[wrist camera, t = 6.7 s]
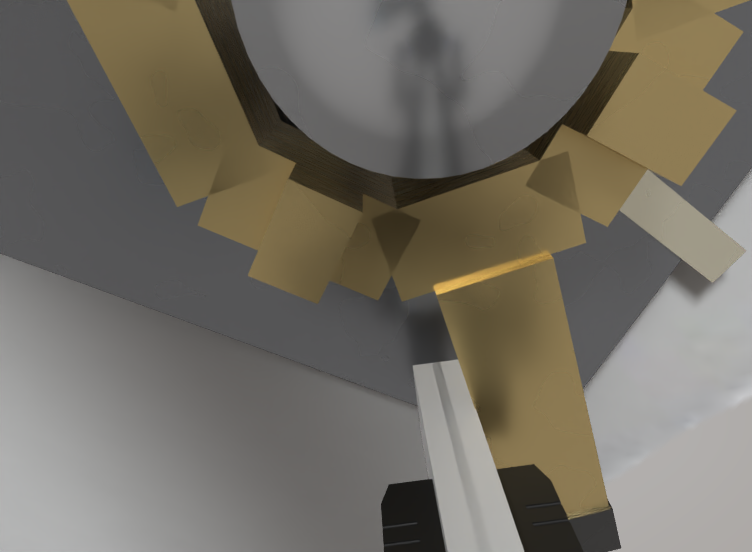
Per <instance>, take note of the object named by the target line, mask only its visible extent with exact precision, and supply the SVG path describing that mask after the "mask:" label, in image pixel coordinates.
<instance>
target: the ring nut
mask: <svg viewBox="0 0 752 552" xmlns="http://www.w3.org/2000/svg"><path fill="white" fill-rule="evenodd" d="M747 1H749V0H627V3H626V6H625V10H624V14H623V17H622V20H621V23H620V25H619V28H618V30H617V33H616V35H615V38H614V40H613V43H612V46H611V48H610V49H609V51H608V53H607V55H606V57H605V59H604V61H603V63H602V65H601V67H600V68H599V70H598V72H597V73H596V75H595V76H594V78H593V79H592V81H591V82H590V84H589V85H588V87H587V88H586V90H585V91H584V93H583V94H582V95H581V97H580V98H579V99H578V100H577V101H576V102H575V104H574V105H573V106H572V107H571V108H570V110H569V111H568V112H567V113H566V114H565V115H564V116H563V117H562V118H561V119H560V120H559V121H558V122H557V123H556V124H555V125H554V126H552V127H551V128H550V129H549V130H548V131H547V132H546V133H545V134H543V135H542V136H541V137H539V138H538V139H537V140H535V141H534V142H533V143H531V144H530V145H529V146H527V147H526V148H524V149H522V150H520V151H519V152H517V153H515V154H513V155H512V156H510V157H508V158H506V159H504V160H502V161H500V162H497V163H495V164H493V165H490V166H488V167H486V168H483V169H480V170H476V171H473V172H469V173H466V174H462V175H456V176H450V177H444V178H428V179H413V178H403V177H394V176H389V175H385V174H381V173H377V172H373V171H370V170H367V169H364V168H362V167H359V166H356V165H354V164H351V163H349V162H347V161H345V160H343V159H341V158H340V157H338V156H336V155H334V154H332V153H330V152H329V151H327V150H326V149H324V148H323V147H321V146H320V145H319V144H317V143H316V142H314V141H313V140H312V139H310V138H309V137H308V136H307V135H306V134H305V133H304V132H302V131H301V130H299V129H297V128H295V127H293V126H291V125H288V124H286V123H284V122H282V121H281V119H280V117H279V115H278V112H277V110H276V107H275V105H274V103H273V100H272V98H271V95H270V94H269V92H268V91H267V89H266V88H265V86H264V85H263V83H262V82H261V80H260V78H259V76H258V74H257V72H256V70H255V68H254V66H253V64H252V63H251V61H250V59H249V57H248V54H247V52H246V49H245V46H244V43H243V41H242V38H241V35H240V33H239V30H238V27H237V22H236V18H235V14H234V10H233V6H232V2H231V0H67V2H68V4H69V5H70V7H71V9H72V11H73V13H74V15H75V17H76V19H77V20H78V22H79V24H80V26H81V28H82V30H83V32H84V34H85V35H86V37H87V39H88V41H89V43H90V45H91V47H92V49H93V50H94V52H95V54H96V56H97V58H98V60H99V62H100V64H101V65H102V67H103V69H104V71H105V73H106V75H107V77H108V79H109V80H110V82H111V84H112V86H113V88H114V90H115V92H116V94H117V95H118V97H119V99H120V101H121V103H122V105H123V107H124V108H125V110H126V112H127V114H128V116H129V118H130V120H131V122H132V123H133V125H134V127H135V129H136V131H137V133H138V135H139V137H140V138H141V140H142V142H143V144H144V146H145V148H146V150H147V152H148V153H149V155H150V157H151V159H152V161H153V163H154V165H155V167H156V168H157V170H158V172H159V174H160V176H161V178H162V180H163V182H164V183H165V185H166V187H167V189H168V191H169V193H170V195H171V197H172V198H173V200H174V202H175V204H176V206H177V207H179V206H182V205H184V204H187V203H190V202H193V201H195V200H198V199H201V198H204V197H207V196H208V198H207V200H206V203H205V206H204V209H203V212H202V214H201V217H200V220H199V223H198V226H200V227H203V228H205V229H207V230H210V231H212V232H215V233H217V234H219V235H222V236H224V237H227V238H229V239H231V240H234V241H236V242H239V243H241V244H243V245H246V246H248V247H251V248H253V249H255V250H258V252H257V254H256V257H255V259H254V262H253V264H252V266H251V269H250V271H249V273H248V276H249V277H252V278H254V279H257V280H259V281H262V282H264V283H267V284H269V285H272V286H274V287H276V288H279V289H281V290H284V291H286V292H289V293H291V294H294V295H296V296H299V297H301V298H304V299H306V300H309V301H311V302H314V303H316V304H318V303H319V301H320V299H321V297H322V295H323V293H324V291H325V289H326V287H327V285H328V283H329V281H332V282H335V283H337V284H339V285H342V286H344V287H347V288H349V289H351V290H354V291H356V292H359V293H361V294H363V295H366V296H368V297H371V298H373V299H375V300H379V298H380V296H381V294H382V292H383V291H384V289H385V287H386V285H387V283H388V281H389V280H390V278H391V276H392V277H393V279H394V282H395V285H396V287H397V290H398V293H399V295H400V298H401V301H406V300H409V299H412V298H415V297H418V296H421V295H424V294H427V293H431V292H434V291H435V292H436V296H437V299H438V301H439V304H440V307H441V310H442V313H443V316H444V319H445V322H446V325H447V328H448V331H449V334H450V337H451V340H452V343H453V346H454V349H455V352H456V355H457V358H458V361H459V364H460V366H461V369H462V372H463V375H464V378H465V381H466V384H467V387H468V390H469V393H470V396H471V399H472V402H473V405H474V408H475V409H476V411H477V414H478V417H479V420H480V422H481V425H482V428H483V431H484V434H485V437H486V440H487V443H488V446H489V449H490V452H491V455H492V458H493V461H494V464H495V467H496V469H501V468H508V467H516V466H523V465H531V464H534V465H536V466H537V467H538V468H539V469H540V470H541V471H542V472H543V473H544V474H545V475H546V476H547V477H548V478H549V479H550V480H551V481H552V483H553V486H554V488H555V490H556V492H557V494H558V497H559V499H560V501H561V505H563V508H564V510H565V512H566V514H567V516H568V520H569V522H570V523H571V525H572V527H573V530H574V532H575V534H576V536H577V538H578V541H579V543H580V545H581V547H582V549H583V552H608V551H612V550H616V549H620V548H621V545H620V541H619V536H618V532H617V527H616V522H615V518H614V513H613V509H612V507H611V505H610V503H609V501H608V499H607V495H606V491H605V486H604V482H603V477H602V473H601V468H600V464H599V459H598V455H597V450H596V446H595V441H594V437H593V433H592V428H591V424H590V419H589V415H588V410H587V406H586V401H585V397H584V392H583V388H582V383H581V379H580V374H579V370H578V365H577V361H576V356H575V352H574V348H573V343H572V339H571V334H570V330H569V325H568V321H567V316H566V312H565V307H564V303H563V298H562V294H561V289H560V285H559V280H558V276H557V271H556V267H555V263H554V258H553V257H552V256H551V254H553V253H556V252H559V251H562V250H565V249H568V248H572V247H575V246H578V245H581V244H584V243H586V240H585V235H584V229H583V224H582V219H581V214H582V215H584V216H586V217H588V218H590V219H592V220H595V221H597V222H599V223H601V224H603V225H605V226H607V227H608V226H609V224H610V223H611V221H612V220H613V218H614V217H615V215H616V214H617V213H618V211H619V210H620V208H621V207H622V205H623V204H624V203H625V201H626V200H627V198H628V197H629V195H630V194H631V193H632V191H633V190H634V188H635V187H636V185H637V184H638V182H639V181H640V180H641V178H642V177H643V175H644V174H645V172H646V171H647V170H649V171H651V172H653V173H655V174H657V175H659V176H661V177H664V178H666V179H668V180H670V181H672V182H674V183H676V184H678V185H680V186H682V185H683V183H684V182H685V180H686V179H687V178H688V176H689V175H690V174H691V172H692V171H693V170H694V168H695V167H696V165H697V164H698V163H699V161H700V160H701V159H702V157H703V156H704V155H705V153H706V152H707V150H708V149H709V148H710V146H711V145H712V144H713V142H714V141H715V140H716V138H717V137H718V135H719V134H720V133H721V131H722V130H723V129H724V127H725V126H726V125H727V123H728V122H729V120H730V119H731V118H732V116H733V115H734V114H735V112H736V111H737V110H735V109H733V108H732V107H730V106H728V105H727V104H725V103H723V102H721V101H720V100H718V99H716V98H715V97H713V96H711V95H710V94H708V93H706V92H704V91H703V89H704V88H705V86H706V85H707V84H708V82H709V81H710V79H711V78H712V76H713V75H714V73H715V72H716V71H717V69H718V68H719V66H720V65H721V63H722V62H723V61H724V59H725V58H726V56H727V55H728V53H729V52H730V51H731V49H732V48H733V46H734V45H735V43H736V42H737V40H738V39H739V38H740V36H741V35H742V33H743V31H742V30H740V29H739V28H737V27H735V26H734V25H732V24H731V23H729V22H727V21H726V20H724V19H723V18H721V17H719V16H718V15H716V14H715V13H716V12H719V11H722V10H724V9H727V8H730V7H733V6H735V5H738V4H741V3H744V2H747Z"/></svg>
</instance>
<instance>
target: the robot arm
mask: <svg viewBox="0 0 752 552" xmlns="http://www.w3.org/2000/svg"><path fill="white" fill-rule="evenodd" d="M413 372H414V381H415V389H416V397H417V405H418V413H419V421H420V429H421V437H422V444H423V450H424V456H425V461H426V467H427V473H428V479H427V480H420V481H412V482H405V483H397V484H390V485H389V486H388V488H387V491H386V493H385V496H384V498H383V501H382V503H381V511H382V526H383V541H384V552H583V549H582V547H581V545H580V543H579V541H578V538H577V536H576V534H575V532H574V530H573V527H572V525H571V523H570V522H569V520H568V516H567V514H566V512H565V510H564V508H563V505H561V501H560V499H559V497H558V494H557V492H556V490H555V488H554V486H553V483H552V481H551V480H550V479H549V478H548V477H547V476H546V475H545V474H544V473H543V472H542V471H541V470H540V469H539V468H538V467H537V466H536V465H534V464H531V465H523V466H516V467H508V468H501V469H496V467H495V464H494V461H493V458H492V455H491V452H490V449H489V446H488V443H487V440H486V437H485V434H484V431H483V428H482V425H481V422H480V420H479V417H478V414H477V411H476V409H475V408H474V405H473V402H472V399H471V396H470V393H469V390H468V387H467V384H466V381H465V378H464V375H463V372H462V369H461V366H460V364H459V361H458V360H450V361H443V362H435V363H427V364H420V365H413Z"/></svg>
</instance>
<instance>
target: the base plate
mask: <svg viewBox="0 0 752 552" xmlns="http://www.w3.org/2000/svg"><path fill="white" fill-rule="evenodd" d="M231 2H232V6H233V10H234V14H235V18H236V22H237V27H238V30H239V33H240V35H241V38H242V41H243V43H244V46H245V49H246V52H247V54H248V57H249V59H250V61H251V63H252V64H253V66H254V68H255V70H256V72H257V74H258V76H259V78H260V80H261V82H262V83H263V85H264V86H265V88H266V89H267V91H268V92H269V94H270V95H271V98H272V100H273V103H274V105H275V107H276V110H277V112H278V115H279V117H280V119H281V121H282V122H284V123H286V124H288V125H291V126H293V127H295V128H297V129H299V130H301V131H302V132H304V133H305V134H306V135H307V136H308V137H309V138H310V139H312V140H313V141H314V142H316V143H317V144H319V145H320V146H321V147H323V148H324V149H326V150H327V151H329V152H330V153H332V154H334V155H336V156H338V157H340V158H341V159H343V160H345V161H347V162H349V163H351V164H354V165H356V166H359V167H362V168H364V169H367V170H370V171H373V172H377V173H381V174H385V175H389V176H394V177H403V178H413V179H428V178H444V177H450V176H456V175H462V174H466V173H469V172H473V171H476V170H480V169H483V168H486V167H488V166H490V165H493V164H495V163H497V162H500V161H502V160H504V159H506V158H508V157H510V156H512V155H513V154H515V153H517V152H519V151H520V150H522V149H524V148H526V147H527V146H529V145H530V144H531V143H533V142H534V141H535V140H537V139H538V138H539V137H541V136H542V135H543V134H545V133H546V132H547V131H548V130H549V129H550V128H551V127H552V126H554V125H555V124H556V123H557V122H558V121H559V120H560V119H561V118H562V117H563V116H564V115H565V114H566V113H567V112H568V111H569V110H570V108H571V107H572V106H573V105H574V104H575V102H576V101H577V100H578V99H579V98H580V97H581V95H582V94H583V93H584V91H585V90H586V88H587V87H588V85H589V84H590V82H591V81H592V79H593V78H594V76H595V75H596V73H597V72H598V70H599V68H600V67H601V65H602V63H603V61H604V59H605V57H606V55H607V53H608V51H609V49H610V48H611V46H612V43H613V40H614V38H615V35H616V33H617V30H618V28H619V25H620V23H621V20H622V17H623V14H624V10H625V6H626V3H627V0H231ZM715 14H716V15H718V16H719V17H721V18H723V19H724V20H726V21H727V22H729V23H731V24H732V25H734V26H735V27H737V28H739V29H740V30H742V31H743V33H742V35H741V36H740V38H739V39H738V40H737V42H736V43H735V45H734V46H733V48H732V49H731V51H730V52H729V53H728V55H727V56H726V58H725V59H724V61H723V62H722V63H721V65H720V66H719V68H718V69H717V71H716V72H715V73H714V75H713V76H712V78H711V79H710V81H709V82H708V84H707V85H706V86H705V88H704V89H703V91H704V92H706V93H708V94H710V95H711V96H713V97H715V98H716V99H718V100H720V101H721V102H723V103H725V104H727V105H728V106H730V107H732V108H733V109H735V110H737V111H736V112H735V114H734V115H733V116H732V118H731V119H730V120H729V122H728V123H727V125H726V126H725V127H724V129H723V130H722V131H721V133H720V134H719V135H718V137H717V138H716V140H715V141H714V142H713V144H712V145H711V146H710V148H709V149H708V150H707V152H706V153H705V155H704V156H703V157H702V159H701V160H700V161H699V163H698V164H697V165H696V167H695V168H694V170H693V171H692V172H691V174H690V175H689V176H688V178H687V179H686V180H685V182H684V183H683V185H682V186H680V185H678V184H676V183H674V182H672V181H670V180H668V179H666V178H664V177H661V176H659V175H657V174H655V173H653V172H651V171H649V170H647V171H646V172H645V174H644V175H643V177H642V178H641V180H640V181H639V182H638V184H637V185H636V187H635V188H634V190H633V191H632V193H631V194H630V195H629V197H628V198H627V200H626V201H625V203H624V204H623V205H622V207H621V208H620V210H619V211H618V213H617V214H616V215H615V217H614V218H613V220H612V221H611V223H610V224H609V226H608V227H607V226H605V225H603V224H601V223H599V222H597V221H595V220H592V219H590V218H588V217H586V216H584V215H582V214H581V219H582V224H583V229H584V235H585V240H586V243H584V244H581V245H578V246H575V247H572V248H568V249H565V250H562V251H559V252H556V253H553V254H551V256H552V257H553V258H554V263H555V267H556V271H557V276H558V280H559V285H560V289H561V294H562V298H563V303H564V307H565V312H566V316H567V321H568V325H569V330H570V334H571V339H572V343H573V348H574V352H575V356H576V361H577V365H578V370H579V374H580V379H581V383H582V388H584V386H585V385H586V384H587V383H588V381H589V380H590V379H591V377H592V376H593V375H594V373H595V372H596V371H597V369H598V368H599V367H600V366H601V364H602V363H603V362H604V360H605V359H606V358H607V356H608V355H609V354H610V352H611V351H612V350H613V349H614V347H615V346H616V345H617V343H618V342H619V341H620V339H621V338H622V337H623V335H624V334H625V333H626V331H627V330H628V329H629V328H630V326H631V325H632V324H633V322H634V321H635V320H636V318H637V317H638V316H639V314H640V313H641V312H642V311H643V309H644V308H645V307H646V305H647V304H648V303H649V301H650V300H651V299H652V297H653V296H654V295H655V293H656V292H657V291H658V290H659V288H660V287H661V286H662V284H663V283H664V282H665V280H666V279H667V278H668V276H669V275H670V274H671V273H672V271H673V270H674V269H675V267H676V266H677V265H678V263H679V262H680V261H681V259H682V260H684V261H685V262H686V263H687V264H689V265H690V266H691V267H693V268H694V269H695V270H696V271H698V272H699V273H700V274H702V275H703V276H704V277H705V278H707V279H708V280H709V281H711V282H712V283H713V282H714V281H715V280H716V279H717V278H719V277H720V276H721V275H722V274H723V273H724V272H725V271H726V270H727V269H728V268H729V267H730V266H731V265H732V264H733V263H734V262H735V261H736V260H738V259H739V258H740V257H741V256H742V255H743V254H744V253H745V252H746V250H745V249H744V248H743V247H741V246H740V245H739V244H738V243H736V242H735V241H734V240H733V239H732V238H730V237H729V236H728V235H727V234H726V233H724V232H723V231H722V230H721V229H719V228H718V227H717V226H716V225H715V224H713V223H712V222H711V220H712V219H713V217H714V216H715V215H716V214H717V212H718V211H719V210H720V208H721V207H722V206H723V204H724V203H725V202H726V200H727V199H728V198H729V197H730V195H731V194H732V193H733V191H734V190H735V189H736V187H737V186H738V185H739V183H740V182H741V181H742V179H743V178H744V177H745V176H746V174H747V173H748V172H749V170H750V169H751V168H752V0H749V1H747V2H744V3H741V4H738V5H735V6H733V7H730V8H727V9H724V10H722V11H719V12H716V13H715ZM207 198H208V196H207V197H204V198H201V199H198V200H195V201H193V202H190V203H187V204H184V205H182V206H179V207H177V206H176V204H175V202H174V200H173V198H172V197H171V195H170V193H169V191H168V189H167V187H166V185H165V183H164V182H163V180H162V178H161V176H160V174H159V172H158V170H157V168H156V167H155V165H154V163H153V161H152V159H151V157H150V155H149V153H148V152H147V150H146V148H145V146H144V144H143V142H142V140H141V138H140V137H139V135H138V133H137V131H136V129H135V127H134V125H133V123H132V122H131V120H130V118H129V116H128V114H127V112H126V110H125V108H124V107H123V105H122V103H121V101H120V99H119V97H118V95H117V94H116V92H115V90H114V88H113V86H112V84H111V82H110V80H109V79H108V77H107V75H106V73H105V71H104V69H103V67H102V65H101V64H100V62H99V60H98V58H97V56H96V54H95V52H94V50H93V49H92V47H91V45H90V43H89V41H88V39H87V37H86V35H85V34H84V32H83V30H82V28H81V26H80V24H79V22H78V20H77V19H76V17H75V15H74V13H73V11H72V9H71V7H70V5H69V4H68V2H67V0H0V253H1V254H4V255H6V256H9V257H12V258H15V259H17V260H20V261H23V262H26V263H28V264H31V265H34V266H36V267H39V268H42V269H45V270H47V271H50V272H53V273H56V274H58V275H61V276H64V277H67V278H69V279H72V280H75V281H77V282H80V283H83V284H86V285H88V286H91V287H94V288H97V289H99V290H102V291H105V292H107V293H110V294H113V295H116V296H118V297H121V298H124V299H127V300H129V301H132V302H135V303H138V304H140V305H143V306H146V307H148V308H151V309H154V310H157V311H159V312H162V313H165V314H168V315H170V316H173V317H176V318H178V319H181V320H184V321H187V322H189V323H192V324H195V325H198V326H200V327H203V328H206V329H209V330H211V331H214V332H217V333H219V334H222V335H225V336H228V337H230V338H233V339H236V340H239V341H241V342H244V343H247V344H250V345H252V346H255V347H258V348H260V349H263V350H266V351H269V352H271V353H274V354H277V355H280V356H282V357H285V358H288V359H290V360H293V361H296V362H299V363H301V364H304V365H307V366H310V367H312V368H315V369H318V370H321V371H323V372H326V373H329V374H331V375H334V376H337V377H340V378H342V379H345V380H348V381H351V382H353V383H356V384H359V385H361V386H364V387H367V388H370V389H372V390H375V391H378V392H381V393H383V394H386V395H389V396H392V397H394V398H397V399H400V400H402V401H405V402H408V403H411V404H413V405H416V406H418V405H417V397H416V389H415V381H414V372H413V365H420V364H427V363H435V362H443V361H450V360H458V358H457V355H456V352H455V349H454V346H453V343H452V340H451V337H450V334H449V331H448V328H447V325H446V322H445V319H444V316H443V313H442V310H441V307H440V304H439V301H438V299H437V296H436V292H435V291H434V292H431V293H427V294H424V295H421V296H418V297H415V298H412V299H409V300H406V301H401V298H400V295H399V293H398V290H397V287H396V285H395V282H394V279H393V277H392V276H391V278H390V280H389V281H388V283H387V285H386V287H385V289H384V291H383V292H382V294H381V296H380V298H379V300H375V299H373V298H371V297H368V296H366V295H363V294H361V293H359V292H356V291H354V290H351V289H349V288H347V287H344V286H342V285H339V284H337V283H335V282H332V281H329V283H328V285H327V287H326V289H325V291H324V293H323V295H322V297H321V299H320V301H319V303H318V304H316V303H314V302H311V301H309V300H306V299H304V298H301V297H299V296H296V295H294V294H291V293H289V292H286V291H284V290H281V289H279V288H276V287H274V286H272V285H269V284H267V283H264V282H262V281H259V280H257V279H254V278H252V277H249V276H248V273H249V271H250V269H251V266H252V264H253V262H254V259H255V257H256V254H257V252H258V250H255V249H253V248H251V247H248V246H246V245H243V244H241V243H239V242H236V241H234V240H231V239H229V238H227V237H224V236H222V235H219V234H217V233H215V232H212V231H210V230H207V229H205V228H203V227H200V226H198V223H199V220H200V217H201V214H202V212H203V209H204V206H205V203H206V200H207Z"/></svg>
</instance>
